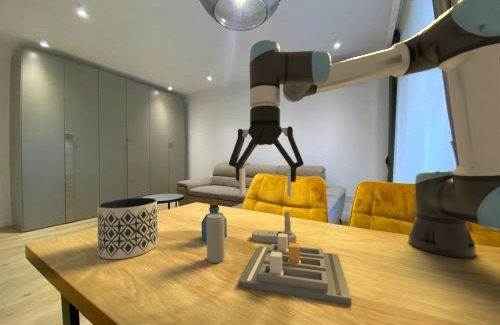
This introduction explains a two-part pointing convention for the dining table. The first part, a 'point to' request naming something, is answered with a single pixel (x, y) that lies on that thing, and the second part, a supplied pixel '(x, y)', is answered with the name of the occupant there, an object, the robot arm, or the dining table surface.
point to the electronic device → (275, 233)
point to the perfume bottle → (213, 210)
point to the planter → (127, 227)
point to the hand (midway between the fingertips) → (265, 194)
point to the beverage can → (215, 238)
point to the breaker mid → (294, 253)
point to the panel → (299, 275)
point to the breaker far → (282, 242)
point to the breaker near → (276, 263)
